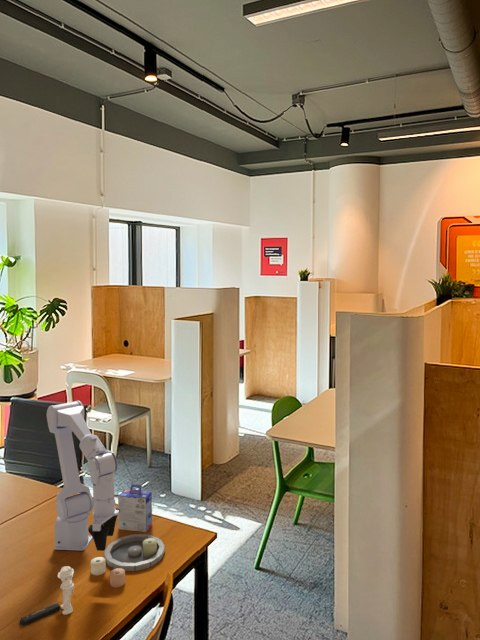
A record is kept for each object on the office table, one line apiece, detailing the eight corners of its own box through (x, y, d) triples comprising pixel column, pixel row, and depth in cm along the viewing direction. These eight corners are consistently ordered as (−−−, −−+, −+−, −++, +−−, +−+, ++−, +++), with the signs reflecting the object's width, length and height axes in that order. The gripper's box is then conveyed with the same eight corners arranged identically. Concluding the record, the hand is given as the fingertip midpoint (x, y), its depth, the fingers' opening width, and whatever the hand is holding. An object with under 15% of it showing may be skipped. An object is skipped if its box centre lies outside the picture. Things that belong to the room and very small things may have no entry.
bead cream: (88, 578, 146) (88, 564, 146) (93, 569, 150) (93, 556, 150) (103, 578, 146) (102, 565, 145) (107, 570, 150) (107, 557, 149)
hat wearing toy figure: (78, 617, 130) (76, 571, 129) (61, 622, 128) (59, 576, 127) (72, 596, 138) (70, 553, 137) (56, 600, 136) (54, 557, 135)
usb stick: (57, 606, 135) (56, 600, 135) (61, 611, 133) (60, 605, 133) (19, 622, 129) (18, 617, 129) (22, 628, 127) (22, 622, 127)
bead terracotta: (108, 590, 141) (107, 576, 140) (112, 581, 145) (112, 567, 144) (122, 591, 140) (122, 577, 140) (127, 582, 144) (126, 568, 144)
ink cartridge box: (153, 526, 174) (152, 484, 172) (147, 535, 169) (146, 491, 167) (125, 523, 176) (124, 482, 174) (118, 532, 171) (116, 489, 169)
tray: (97, 573, 148) (97, 564, 148) (115, 540, 165) (115, 533, 165) (157, 575, 147) (156, 567, 147) (169, 542, 164) (169, 535, 164)
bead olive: (141, 558, 154) (141, 545, 154) (144, 550, 158) (144, 537, 158) (155, 558, 154) (154, 545, 153) (158, 551, 158) (157, 538, 157)
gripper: (110, 508, 139) (111, 557, 141) (125, 485, 154) (126, 529, 155) (84, 508, 140) (85, 556, 141) (101, 484, 154) (102, 528, 156)
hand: (105, 542), depth 148 cm, fingers open, 7 cm apart
